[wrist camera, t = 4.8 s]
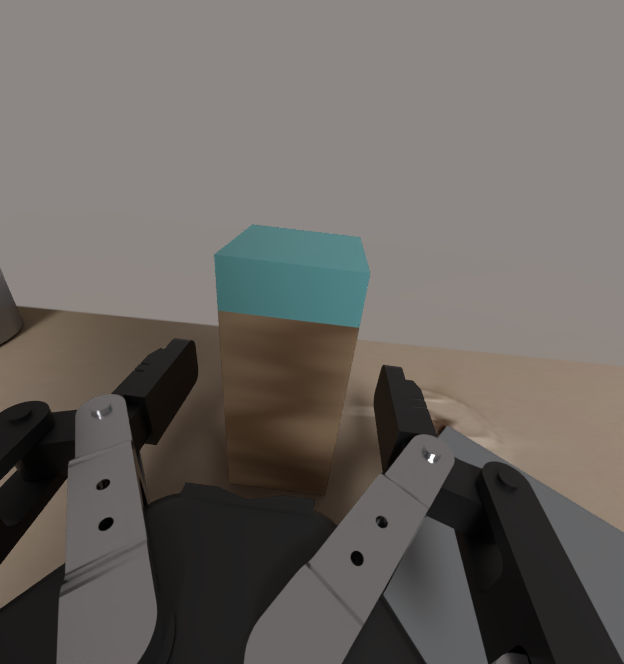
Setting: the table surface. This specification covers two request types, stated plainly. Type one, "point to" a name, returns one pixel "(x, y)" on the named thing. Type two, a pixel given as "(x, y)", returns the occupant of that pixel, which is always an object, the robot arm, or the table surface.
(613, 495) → the table surface
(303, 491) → the walnut block
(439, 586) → the grey mat
